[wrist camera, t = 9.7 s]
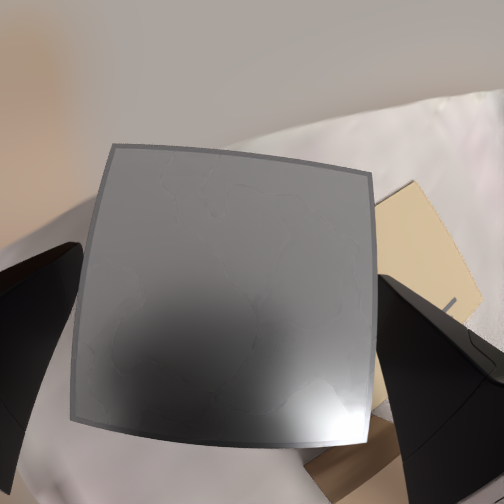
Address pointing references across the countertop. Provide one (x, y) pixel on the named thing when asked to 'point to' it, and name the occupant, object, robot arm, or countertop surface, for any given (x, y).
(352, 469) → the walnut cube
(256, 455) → the countertop surface
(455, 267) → the envelope
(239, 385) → the grey tin
